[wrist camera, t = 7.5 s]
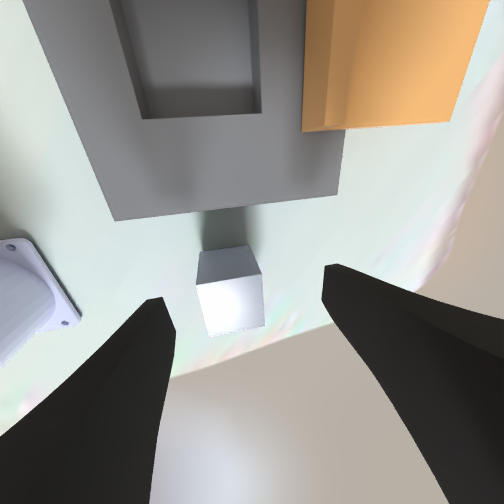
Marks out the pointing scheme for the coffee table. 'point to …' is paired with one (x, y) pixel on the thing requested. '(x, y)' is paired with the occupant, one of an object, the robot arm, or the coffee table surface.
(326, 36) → the panel
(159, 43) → the socket base
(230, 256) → the grey rectangular block
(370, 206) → the coffee table surface
